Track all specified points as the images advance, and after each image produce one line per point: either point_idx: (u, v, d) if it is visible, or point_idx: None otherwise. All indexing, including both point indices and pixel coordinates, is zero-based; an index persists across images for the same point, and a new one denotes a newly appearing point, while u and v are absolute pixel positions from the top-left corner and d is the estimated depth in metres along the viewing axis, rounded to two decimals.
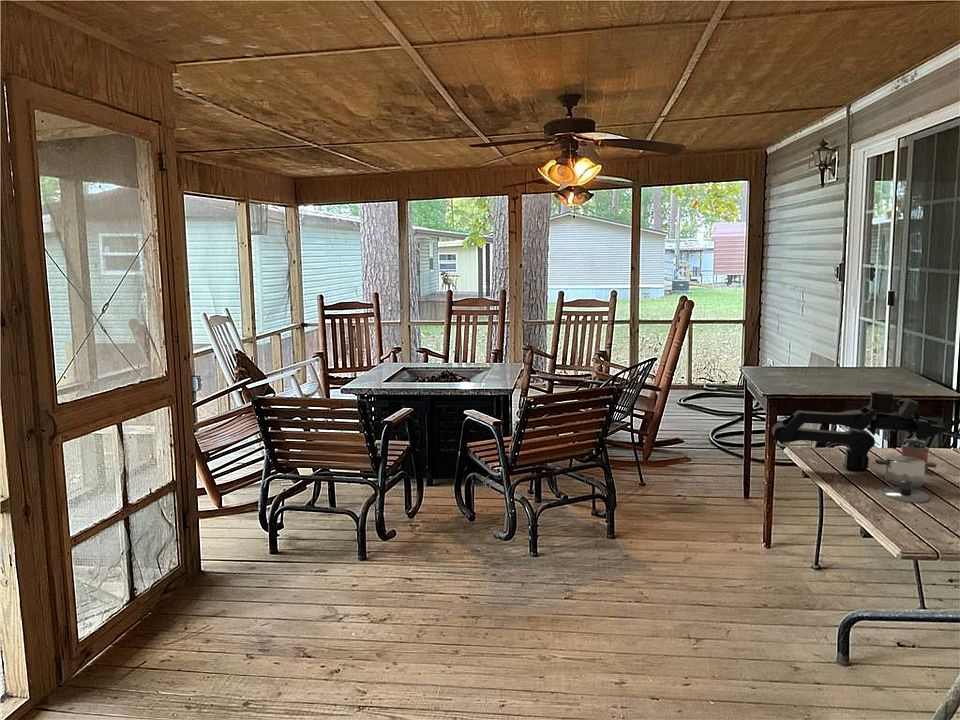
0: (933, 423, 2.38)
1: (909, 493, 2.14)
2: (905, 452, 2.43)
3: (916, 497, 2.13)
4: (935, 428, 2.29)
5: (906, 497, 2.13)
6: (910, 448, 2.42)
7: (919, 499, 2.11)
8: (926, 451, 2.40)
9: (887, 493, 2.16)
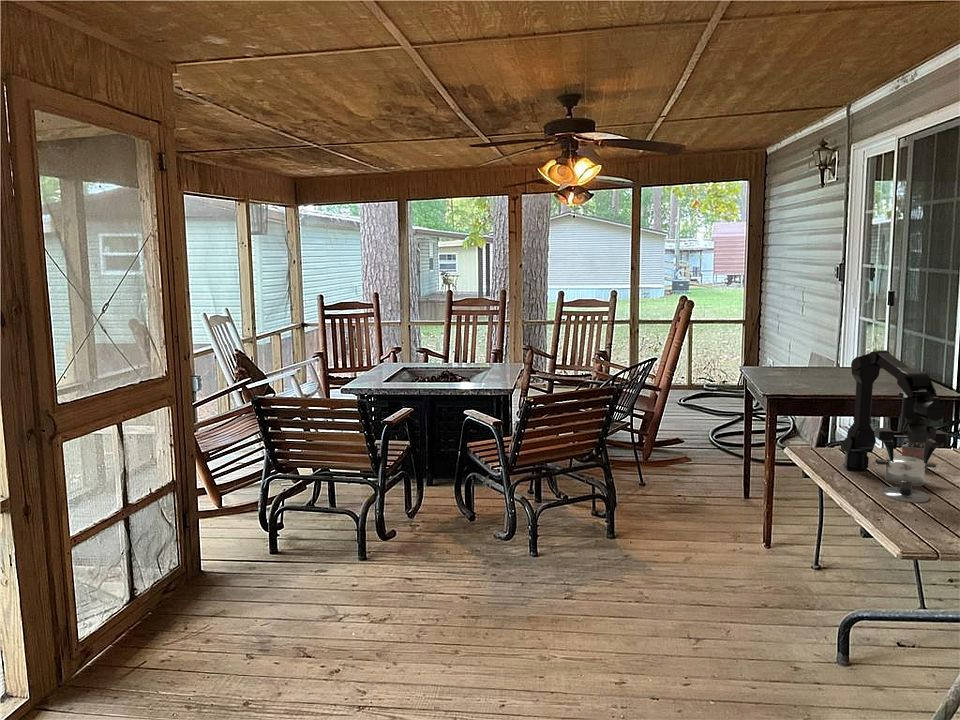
0: (924, 458, 2.13)
1: (909, 493, 2.14)
2: (905, 452, 2.43)
3: (916, 497, 2.13)
4: (888, 449, 2.15)
5: (906, 497, 2.13)
6: (910, 448, 2.42)
7: (919, 499, 2.11)
8: None
9: (887, 493, 2.16)
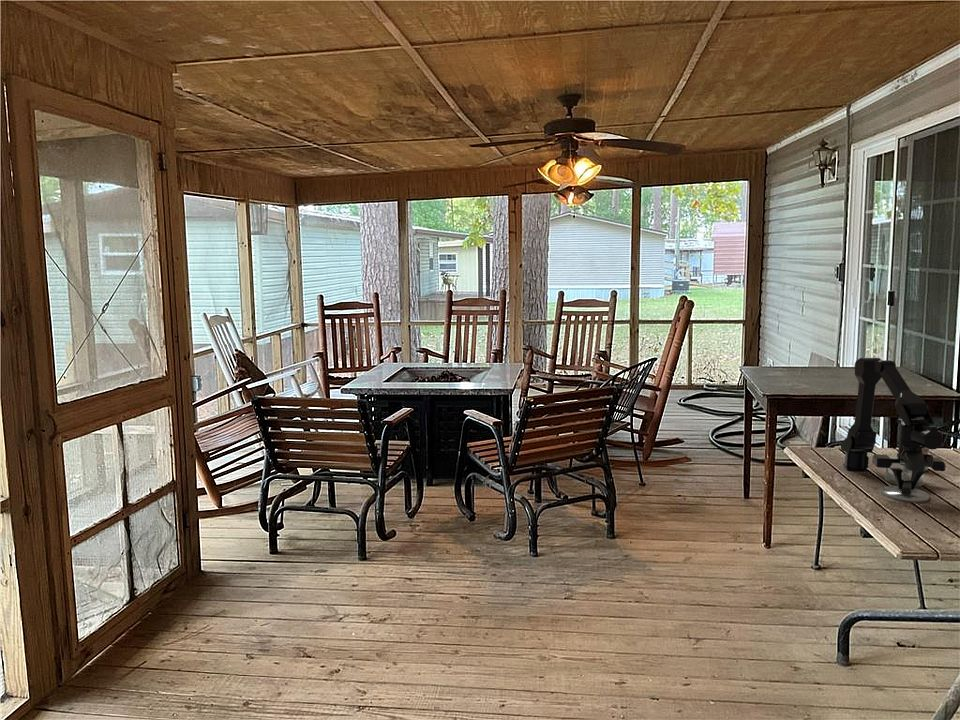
0: None
1: (909, 492, 2.14)
2: None
3: (917, 496, 2.13)
4: (896, 477, 2.15)
5: (906, 496, 2.12)
6: None
7: (919, 497, 2.11)
8: (926, 451, 2.40)
9: (887, 492, 2.16)
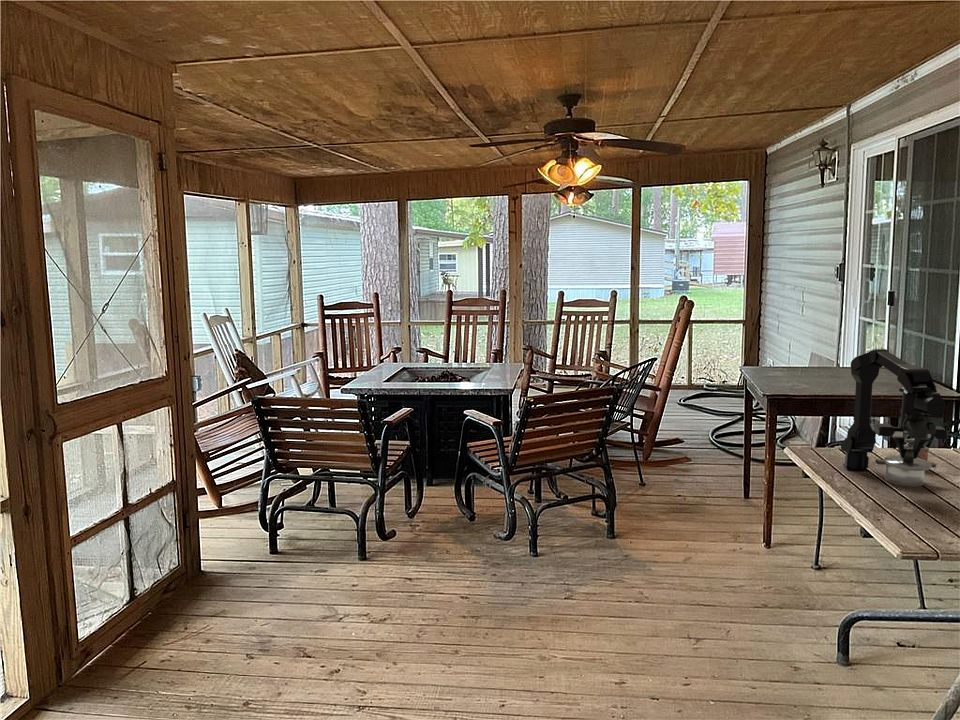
0: None
1: (911, 461, 2.13)
2: None
3: (919, 464, 2.12)
4: (899, 445, 2.15)
5: (908, 464, 2.12)
6: None
7: (922, 466, 2.10)
8: (926, 451, 2.40)
9: (889, 461, 2.15)
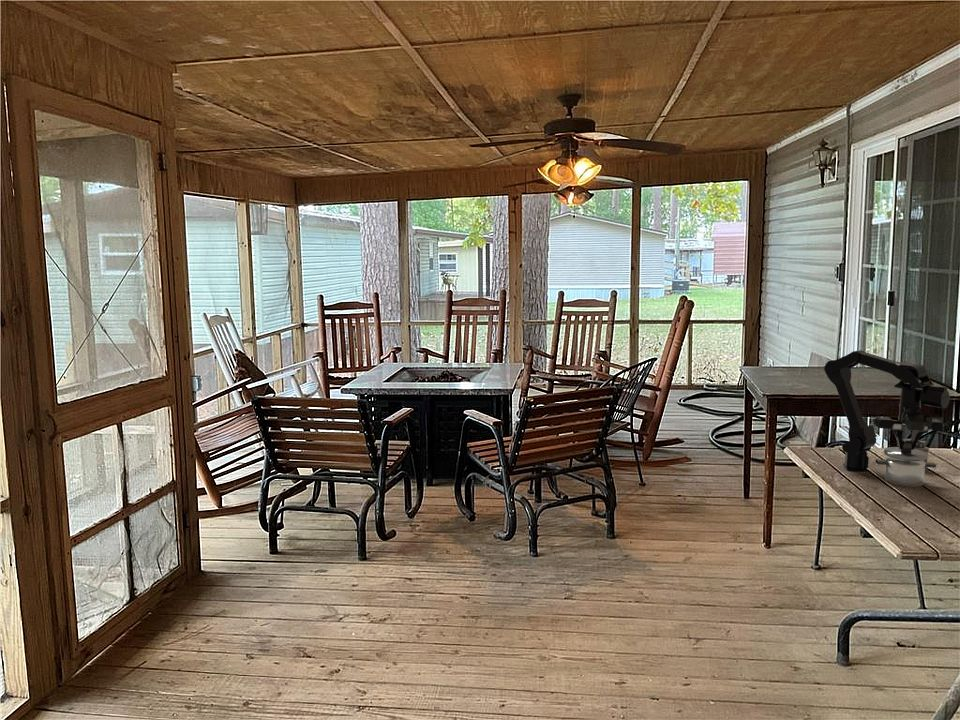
0: None
1: (909, 451, 2.26)
2: None
3: (916, 455, 2.25)
4: (897, 437, 2.28)
5: (906, 455, 2.24)
6: None
7: (919, 456, 2.23)
8: (926, 451, 2.40)
9: (888, 452, 2.28)
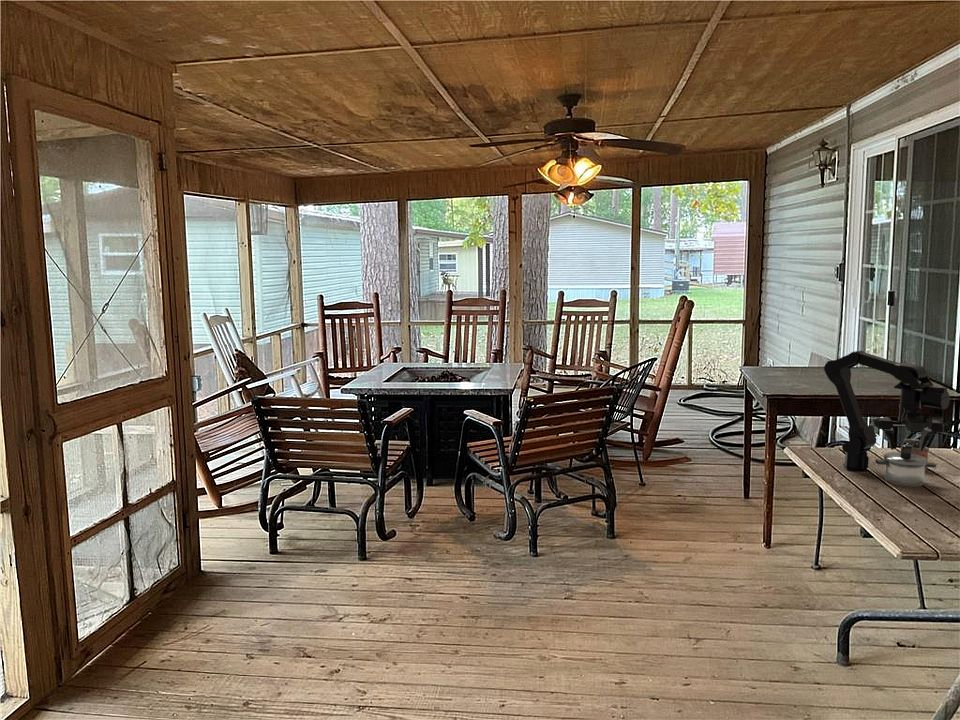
0: (920, 446, 2.27)
1: (909, 457, 2.27)
2: None
3: (916, 460, 2.25)
4: (889, 438, 2.28)
5: (906, 460, 2.25)
6: None
7: (919, 462, 2.23)
8: (926, 451, 2.40)
9: (888, 457, 2.28)
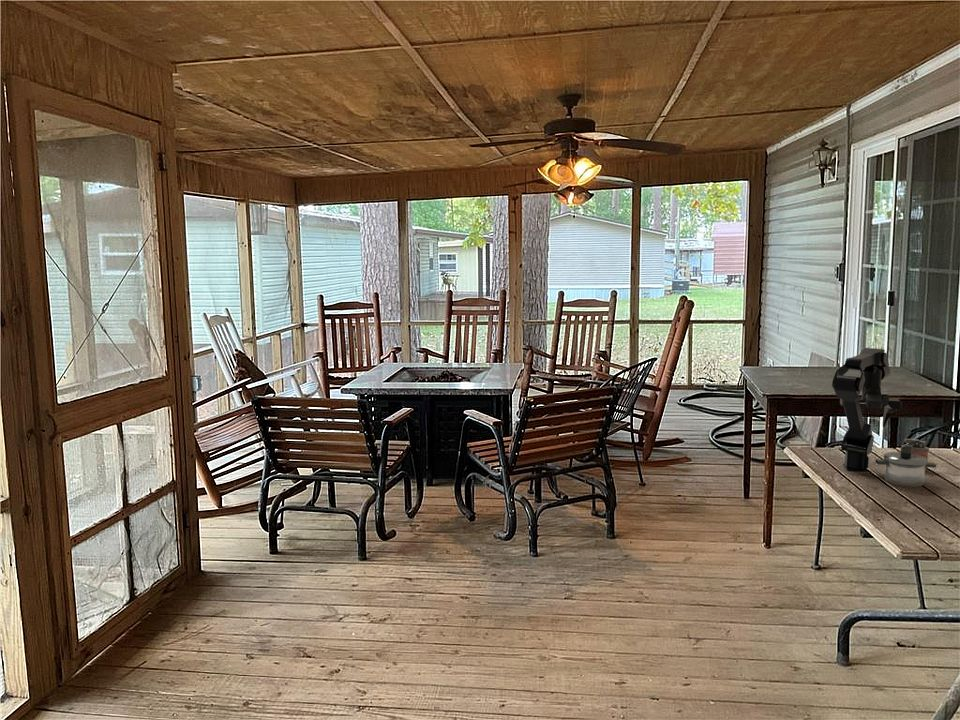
0: None
1: (909, 457, 2.27)
2: None
3: (916, 460, 2.25)
4: None
5: (906, 460, 2.25)
6: None
7: (919, 461, 2.23)
8: (926, 451, 2.40)
9: (888, 457, 2.28)
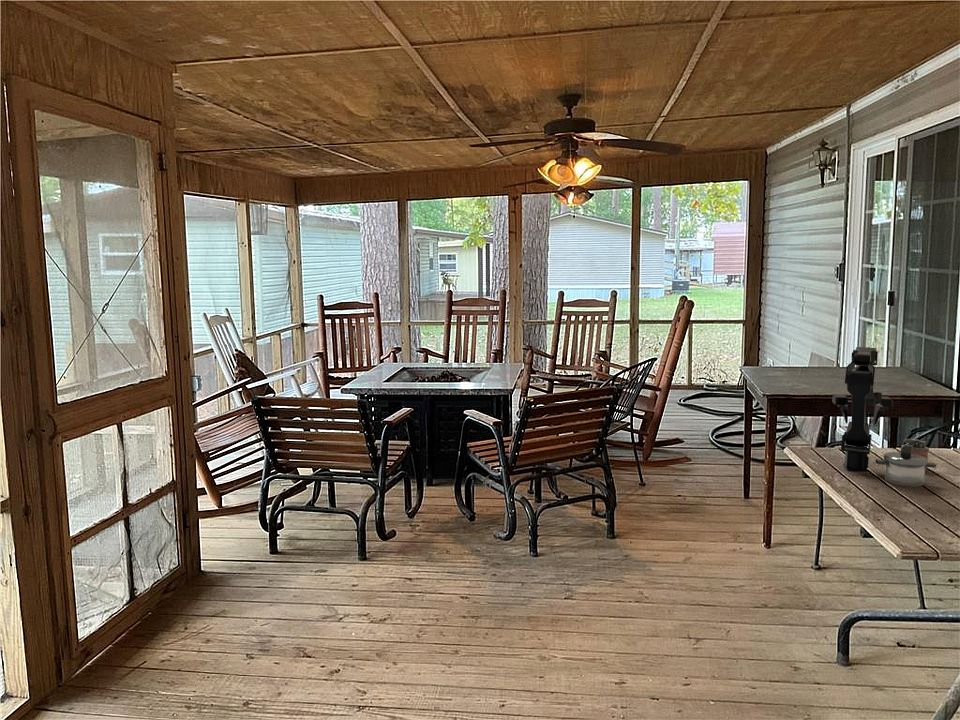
0: (873, 420, 2.51)
1: (909, 457, 2.27)
2: None
3: (916, 460, 2.25)
4: (843, 413, 2.53)
5: (906, 460, 2.25)
6: None
7: (918, 462, 2.23)
8: (926, 451, 2.40)
9: (888, 457, 2.28)
